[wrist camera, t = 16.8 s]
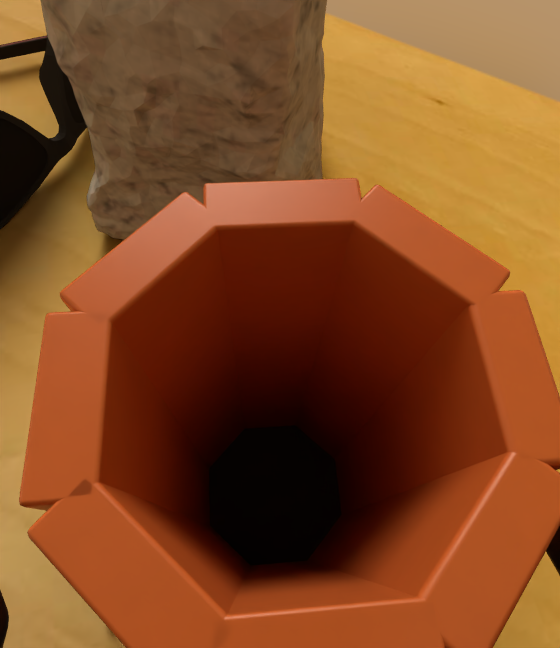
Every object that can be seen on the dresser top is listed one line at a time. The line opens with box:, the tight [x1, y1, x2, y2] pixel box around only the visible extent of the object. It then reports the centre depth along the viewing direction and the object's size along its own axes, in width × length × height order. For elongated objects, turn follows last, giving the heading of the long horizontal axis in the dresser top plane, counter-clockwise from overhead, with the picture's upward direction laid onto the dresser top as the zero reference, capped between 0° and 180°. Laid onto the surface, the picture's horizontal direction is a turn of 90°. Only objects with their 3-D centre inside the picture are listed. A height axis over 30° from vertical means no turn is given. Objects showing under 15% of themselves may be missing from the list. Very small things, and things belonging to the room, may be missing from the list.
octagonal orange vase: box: [19, 178, 560, 648], centre depth 11 cm, size 6×6×12 cm
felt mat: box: [209, 425, 342, 565], centre depth 17 cm, size 9×9×1 cm
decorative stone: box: [41, 0, 327, 240], centre depth 16 cm, size 10×9×15 cm
